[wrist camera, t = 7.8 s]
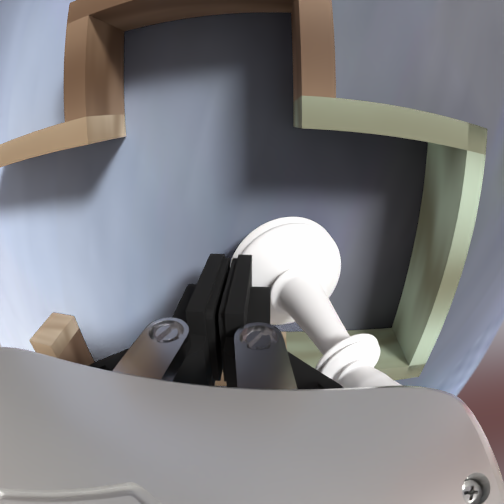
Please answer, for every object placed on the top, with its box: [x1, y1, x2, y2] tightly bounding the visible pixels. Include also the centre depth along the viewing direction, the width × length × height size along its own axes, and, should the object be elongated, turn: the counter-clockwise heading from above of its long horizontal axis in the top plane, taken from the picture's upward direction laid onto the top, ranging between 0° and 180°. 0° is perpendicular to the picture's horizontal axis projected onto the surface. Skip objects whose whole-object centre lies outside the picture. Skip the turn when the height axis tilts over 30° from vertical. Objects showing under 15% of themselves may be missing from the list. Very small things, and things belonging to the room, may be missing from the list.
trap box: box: [0, 0, 487, 386], centre depth 12 cm, size 22×22×3 cm
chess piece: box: [230, 217, 403, 388], centre depth 8 cm, size 5×5×10 cm
